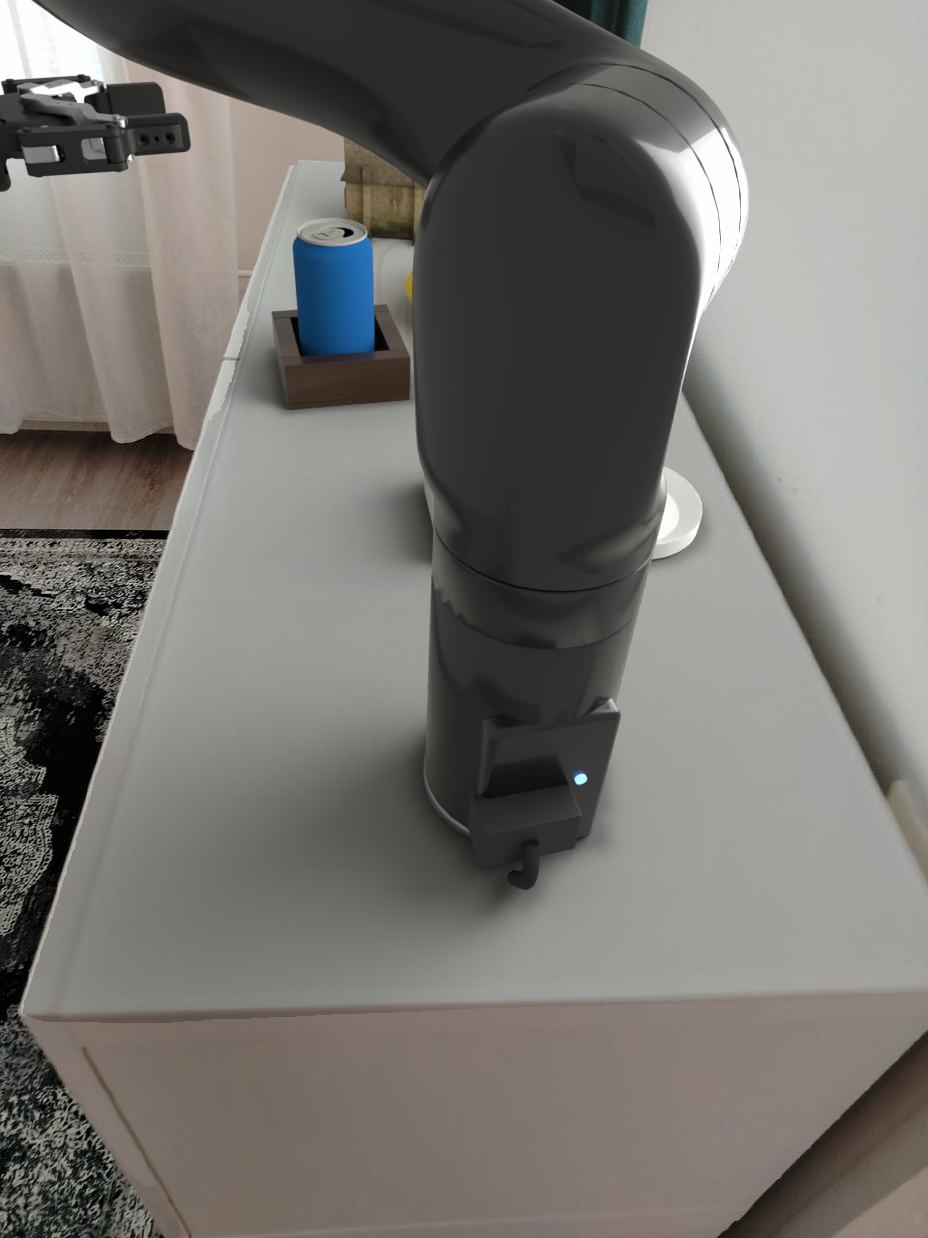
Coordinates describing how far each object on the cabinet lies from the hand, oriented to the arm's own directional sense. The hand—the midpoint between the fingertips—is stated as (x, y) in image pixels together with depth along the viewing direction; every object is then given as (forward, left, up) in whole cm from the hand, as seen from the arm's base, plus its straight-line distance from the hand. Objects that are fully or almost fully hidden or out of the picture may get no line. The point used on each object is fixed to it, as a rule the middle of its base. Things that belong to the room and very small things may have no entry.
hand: (175, 114), depth 62 cm
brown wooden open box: (+2, -11, -22) cm, 24 cm away
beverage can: (+2, -11, -21) cm, 24 cm away
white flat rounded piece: (-22, -24, -22) cm, 39 cm away
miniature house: (+39, -25, -22) cm, 51 cm away
